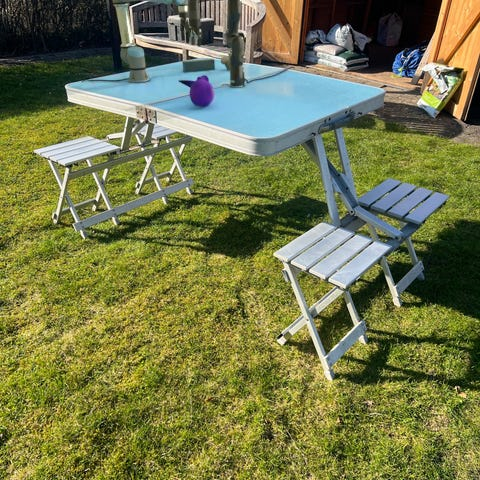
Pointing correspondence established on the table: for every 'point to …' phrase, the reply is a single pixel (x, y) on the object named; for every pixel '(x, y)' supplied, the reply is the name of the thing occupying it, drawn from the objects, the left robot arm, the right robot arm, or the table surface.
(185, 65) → the bar
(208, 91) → the toy
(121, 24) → the left robot arm
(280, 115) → the table surface
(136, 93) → the table surface
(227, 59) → the teapot
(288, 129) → the table surface
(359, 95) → the table surface
